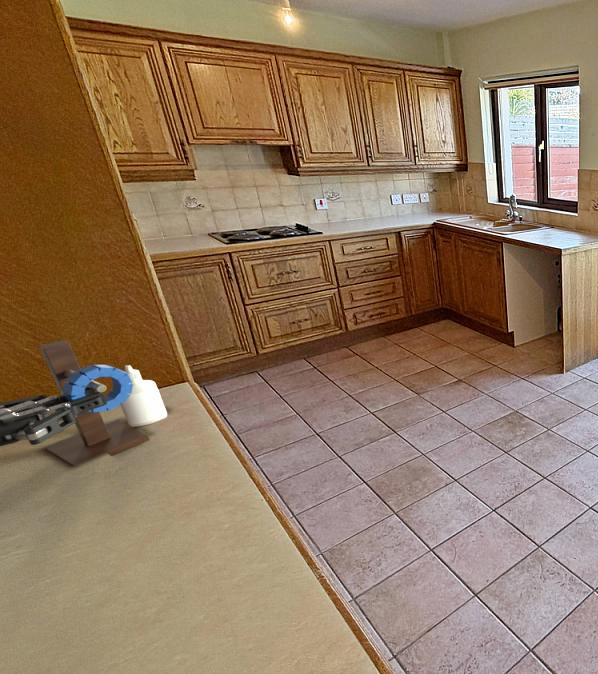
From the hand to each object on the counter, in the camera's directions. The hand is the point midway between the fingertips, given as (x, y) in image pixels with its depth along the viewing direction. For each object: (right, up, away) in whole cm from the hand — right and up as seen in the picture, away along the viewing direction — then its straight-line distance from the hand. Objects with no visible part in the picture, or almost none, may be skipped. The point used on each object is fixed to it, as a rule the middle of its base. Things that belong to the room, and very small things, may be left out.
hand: (98, 395), depth 76 cm
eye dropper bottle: (-8, -7, +17) cm, 20 cm away
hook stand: (-6, -11, +8) cm, 15 cm away
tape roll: (0, +1, 0) cm, 1 cm away
